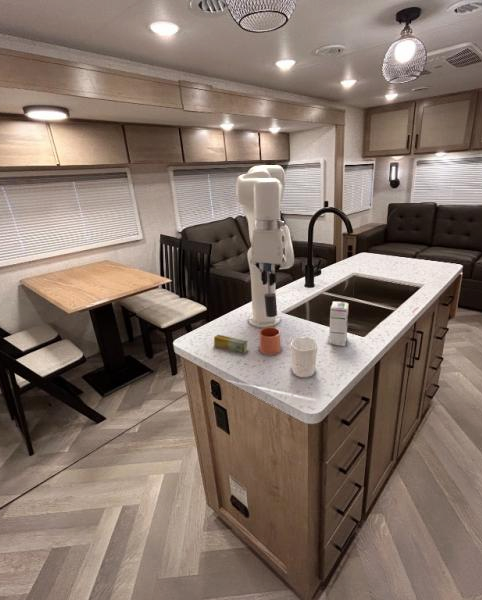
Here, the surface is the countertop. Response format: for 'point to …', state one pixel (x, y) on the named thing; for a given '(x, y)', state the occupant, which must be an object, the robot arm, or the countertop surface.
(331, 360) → the countertop surface
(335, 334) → the syrup box
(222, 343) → the medication box
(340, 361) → the countertop surface
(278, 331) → the cup
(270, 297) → the bottle brush
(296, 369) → the white cup
